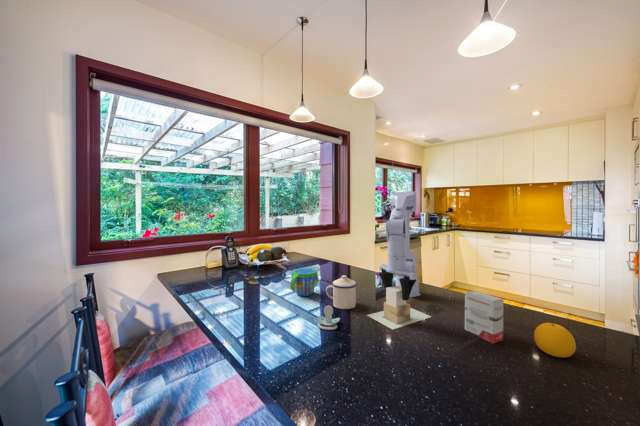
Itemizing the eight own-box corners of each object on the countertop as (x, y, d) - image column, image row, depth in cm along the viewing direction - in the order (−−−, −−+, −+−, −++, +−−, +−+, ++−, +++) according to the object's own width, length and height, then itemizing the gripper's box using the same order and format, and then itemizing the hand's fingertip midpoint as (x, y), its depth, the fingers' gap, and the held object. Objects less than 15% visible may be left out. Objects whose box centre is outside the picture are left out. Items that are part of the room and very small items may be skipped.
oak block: (396, 313, 89) (396, 298, 89) (410, 319, 84) (410, 304, 84) (383, 316, 86) (383, 302, 86) (397, 323, 81) (397, 308, 81)
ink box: (504, 340, 72) (504, 298, 71) (493, 344, 69) (493, 301, 69) (474, 327, 79) (474, 289, 79) (463, 331, 77) (463, 292, 77)
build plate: (404, 306, 96) (404, 304, 96) (431, 318, 86) (431, 316, 86) (366, 316, 88) (366, 315, 88) (392, 331, 77) (392, 329, 77)
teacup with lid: (359, 303, 100) (358, 274, 100) (352, 312, 92) (352, 280, 91) (330, 299, 105) (330, 271, 104) (321, 307, 96) (321, 276, 96)
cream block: (395, 300, 88) (395, 285, 88) (406, 304, 84) (406, 289, 84) (386, 302, 86) (386, 287, 86) (396, 307, 82) (396, 291, 82)
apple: (580, 366, 60) (581, 334, 59) (536, 356, 64) (537, 326, 64) (570, 350, 66) (570, 321, 66) (531, 342, 71) (531, 315, 70)
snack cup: (310, 287, 121) (310, 266, 121) (326, 292, 113) (326, 269, 113) (283, 295, 110) (283, 272, 110) (299, 301, 103) (298, 276, 102)
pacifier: (337, 332, 77) (340, 323, 83) (337, 312, 77) (340, 304, 83) (314, 330, 79) (319, 321, 85) (314, 310, 79) (318, 302, 85)
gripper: (372, 253, 89) (372, 292, 89) (405, 260, 76) (405, 305, 77) (387, 251, 92) (387, 288, 93) (421, 258, 80) (421, 301, 80)
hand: (396, 296), depth 85 cm, fingers open, 7 cm apart
